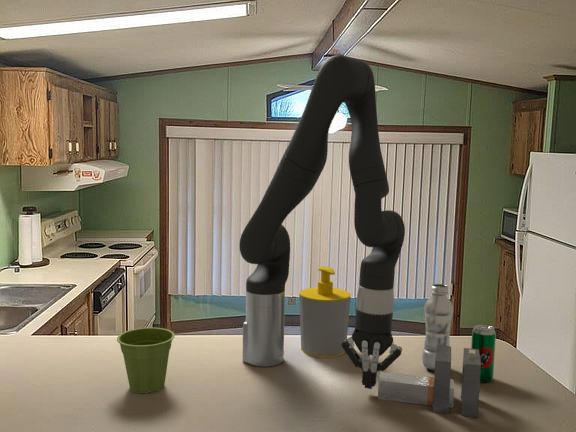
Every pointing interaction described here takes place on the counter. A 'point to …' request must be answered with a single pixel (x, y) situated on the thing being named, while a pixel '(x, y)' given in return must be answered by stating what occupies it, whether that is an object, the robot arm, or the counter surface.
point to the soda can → (485, 349)
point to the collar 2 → (470, 382)
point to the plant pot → (146, 357)
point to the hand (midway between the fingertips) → (368, 387)
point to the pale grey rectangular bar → (409, 388)
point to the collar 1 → (442, 379)
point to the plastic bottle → (436, 323)
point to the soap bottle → (324, 317)
